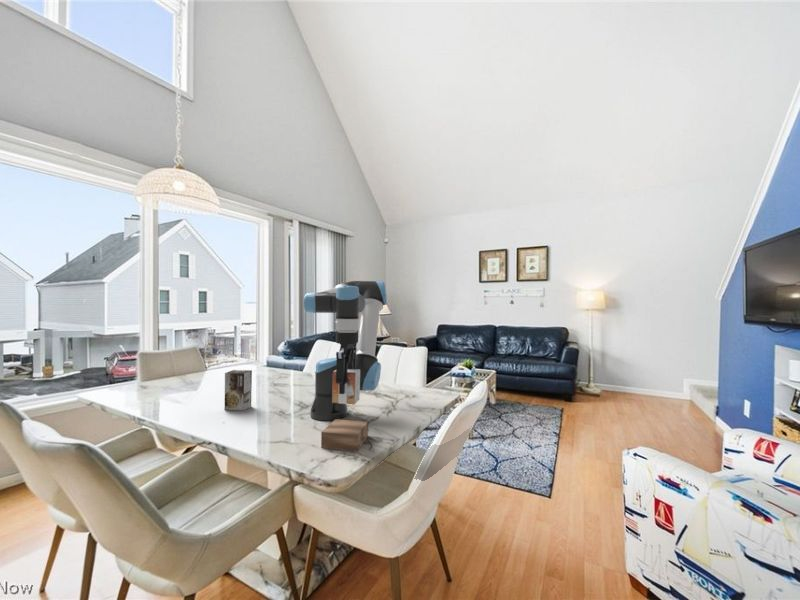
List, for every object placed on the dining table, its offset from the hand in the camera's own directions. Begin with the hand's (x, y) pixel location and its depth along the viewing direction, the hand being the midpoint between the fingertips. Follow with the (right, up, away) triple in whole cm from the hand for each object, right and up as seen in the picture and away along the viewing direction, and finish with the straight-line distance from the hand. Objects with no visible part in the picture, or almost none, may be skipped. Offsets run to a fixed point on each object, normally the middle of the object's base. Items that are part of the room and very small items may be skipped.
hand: (346, 400), depth 108 cm
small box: (0, -1, 0) cm, 1 cm away
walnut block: (0, -14, 0) cm, 14 cm away
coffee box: (-53, -14, +33) cm, 64 cm away
